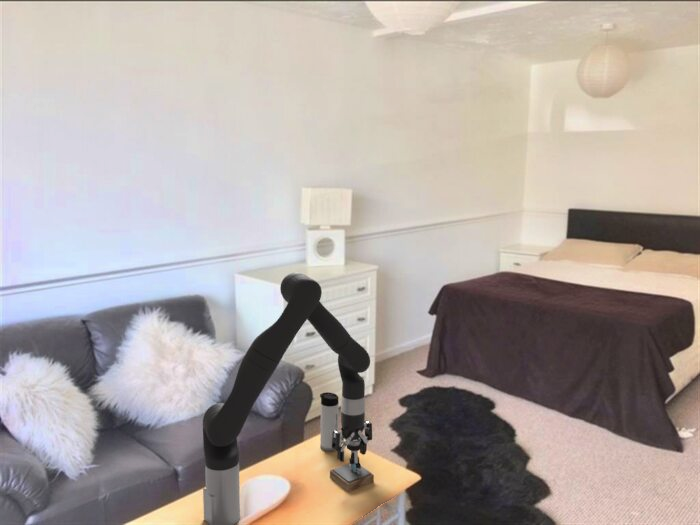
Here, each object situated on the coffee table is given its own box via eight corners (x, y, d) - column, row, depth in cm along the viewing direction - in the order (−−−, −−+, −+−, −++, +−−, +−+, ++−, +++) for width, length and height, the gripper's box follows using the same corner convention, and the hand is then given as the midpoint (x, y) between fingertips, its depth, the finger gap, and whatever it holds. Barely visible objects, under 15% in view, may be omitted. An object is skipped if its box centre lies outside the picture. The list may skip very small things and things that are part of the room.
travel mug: (317, 444, 203) (318, 391, 200) (335, 441, 205) (335, 389, 202) (321, 452, 197) (322, 398, 194) (339, 450, 199) (340, 396, 196)
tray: (348, 492, 173) (348, 483, 173) (329, 477, 181) (330, 468, 181) (373, 481, 179) (373, 473, 179) (354, 468, 187) (354, 460, 187)
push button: (366, 473, 178) (366, 444, 176) (351, 476, 176) (351, 447, 175) (359, 463, 184) (359, 434, 183) (343, 466, 182) (343, 437, 181)
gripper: (341, 419, 169) (340, 469, 172) (378, 408, 178) (376, 455, 180) (327, 410, 175) (326, 458, 178) (363, 400, 183) (362, 446, 186)
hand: (352, 457), depth 179 cm, fingers open, 8 cm apart
